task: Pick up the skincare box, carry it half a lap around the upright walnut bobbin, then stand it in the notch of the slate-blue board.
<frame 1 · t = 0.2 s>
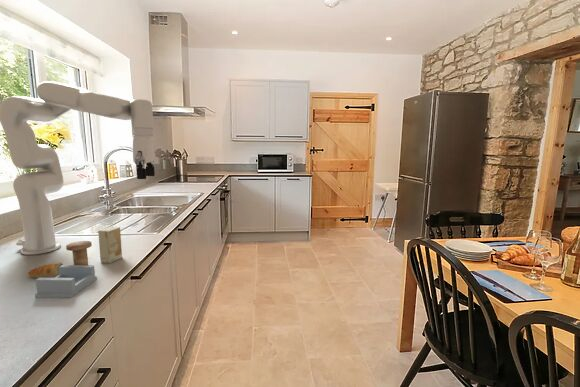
hand: (146, 177, 118), 30 cm above the worktop, tool pointing down, fingers open, 9 cm apart
skincare box: (111, 260, 114), on the worktop
bobbin: (81, 272, 103), on the worktop
pastry: (48, 275, 100), on the worktop
notched board: (68, 287, 92), on the worktop
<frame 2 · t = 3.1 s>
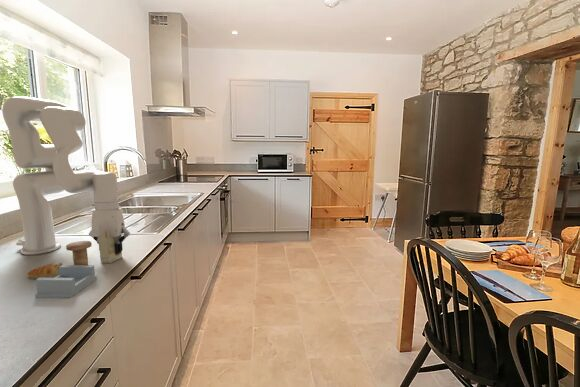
hand: (111, 252, 113), 3 cm above the worktop, tool pointing down, fingers closed on skincare box, 5 cm apart
skincare box: (111, 260, 113), on the worktop, touching gripper
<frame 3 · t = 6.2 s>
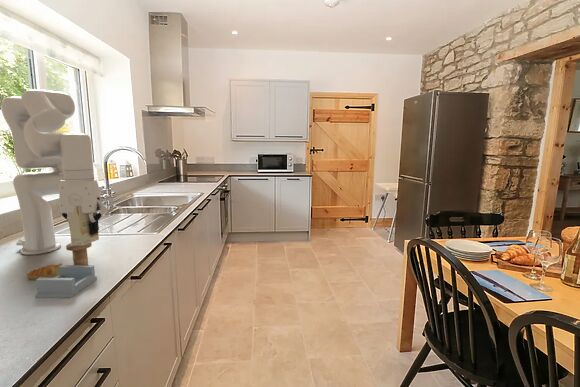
hand: (84, 233, 93), 16 cm above the worktop, tool pointing down, fingers closed on skincare box, 5 cm apart
skincare box: (85, 242, 93), point 13 cm above the worktop, touching gripper
when the fingers open (5 cm above the worktop, at t = 9.2 s): skincare box stays where it is, resting on notched board.
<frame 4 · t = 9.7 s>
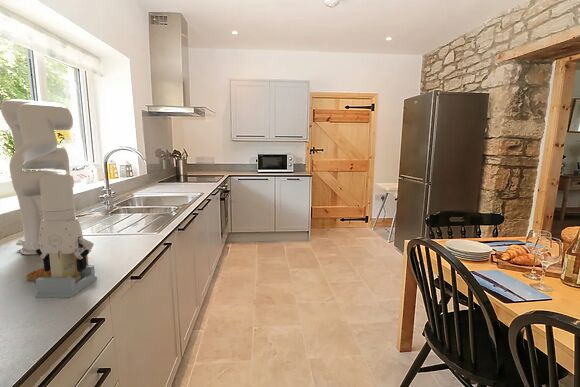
hand: (66, 269, 91), 6 cm above the worktop, tool pointing down, fingers open, 9 cm apart
skincare box: (67, 284, 92), point 1 cm above the worktop, touching notched board
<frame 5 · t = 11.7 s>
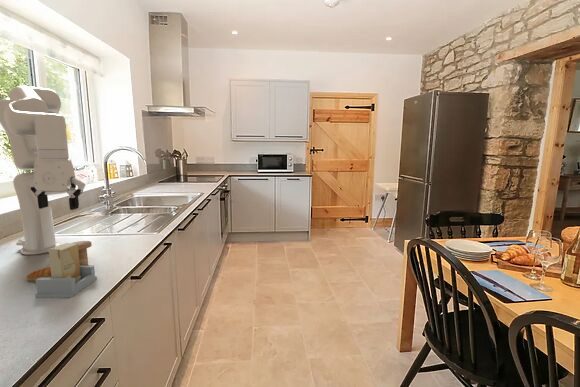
hand: (59, 208, 96), 23 cm above the worktop, tool pointing down, fingers open, 9 cm apart
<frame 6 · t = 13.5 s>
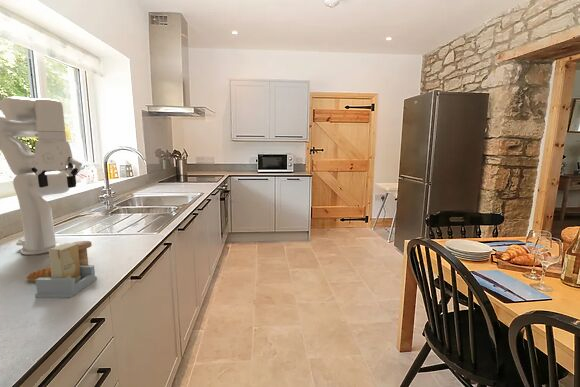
hand: (58, 187, 104), 28 cm above the worktop, tool pointing down, fingers open, 9 cm apart
at the end: skincare box inside the target area on the notched board (0.3 cm from its centre), point 0.8 cm above the notched board's base; skincare box tilted 0°; the gripper is holding nothing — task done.
